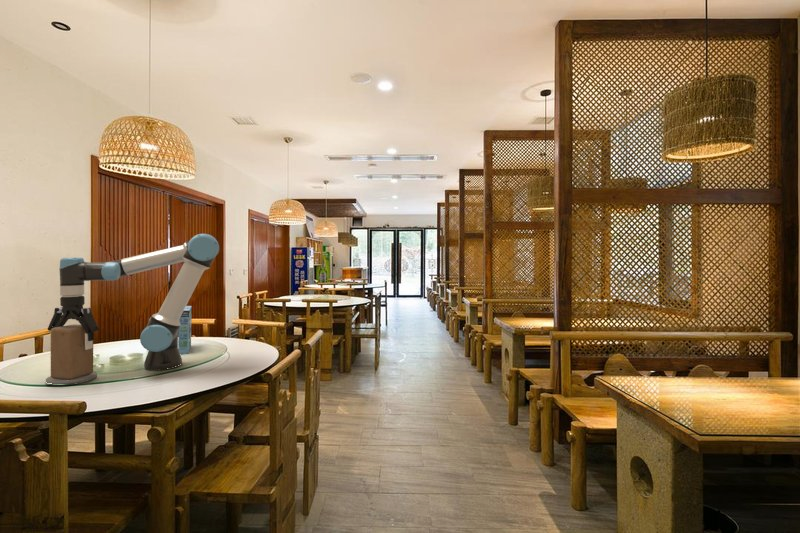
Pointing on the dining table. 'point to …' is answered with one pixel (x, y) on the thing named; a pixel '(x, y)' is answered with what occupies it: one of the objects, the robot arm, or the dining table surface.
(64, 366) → the wooden block
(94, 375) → the charcoal plate
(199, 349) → the dining table surface
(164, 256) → the robot arm
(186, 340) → the gum box
